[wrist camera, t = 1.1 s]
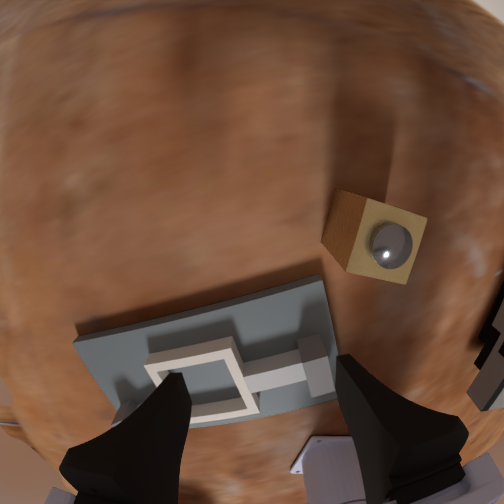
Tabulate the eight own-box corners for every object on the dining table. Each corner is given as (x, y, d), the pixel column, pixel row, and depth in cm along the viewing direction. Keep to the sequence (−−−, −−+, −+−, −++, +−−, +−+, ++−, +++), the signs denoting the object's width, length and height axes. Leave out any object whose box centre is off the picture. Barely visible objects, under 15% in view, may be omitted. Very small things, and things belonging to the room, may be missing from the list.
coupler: (384, 202, 20) (433, 220, 14) (369, 254, 21) (410, 289, 15) (335, 187, 20) (372, 199, 13) (320, 242, 21) (348, 275, 15)
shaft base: (318, 273, 22) (332, 298, 18) (342, 387, 25) (353, 418, 21) (78, 336, 23) (56, 361, 19) (136, 424, 27) (126, 451, 23)
